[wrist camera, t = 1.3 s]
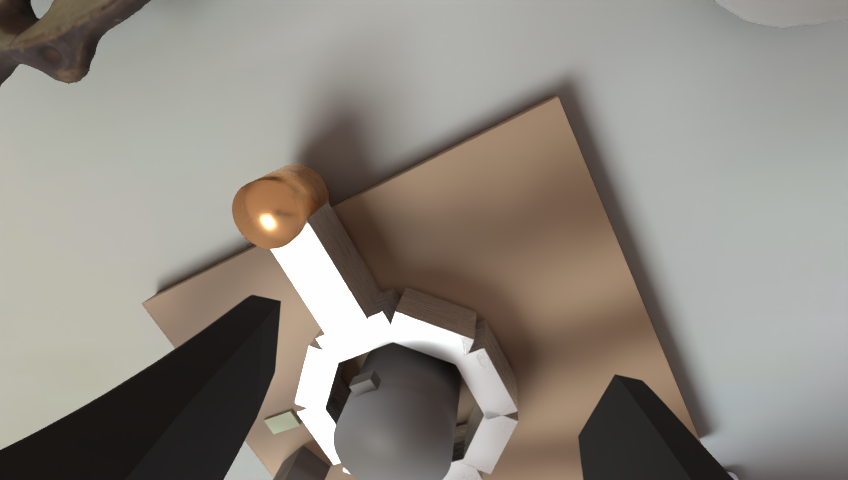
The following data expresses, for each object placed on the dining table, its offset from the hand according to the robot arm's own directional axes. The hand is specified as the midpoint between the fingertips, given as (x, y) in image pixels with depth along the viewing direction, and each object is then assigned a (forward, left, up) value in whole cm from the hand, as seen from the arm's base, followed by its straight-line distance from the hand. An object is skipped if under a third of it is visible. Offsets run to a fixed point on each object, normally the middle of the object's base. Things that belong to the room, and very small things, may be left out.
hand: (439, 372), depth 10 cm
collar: (-3, +6, -10) cm, 12 cm away
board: (-6, +6, -11) cm, 14 cm away
